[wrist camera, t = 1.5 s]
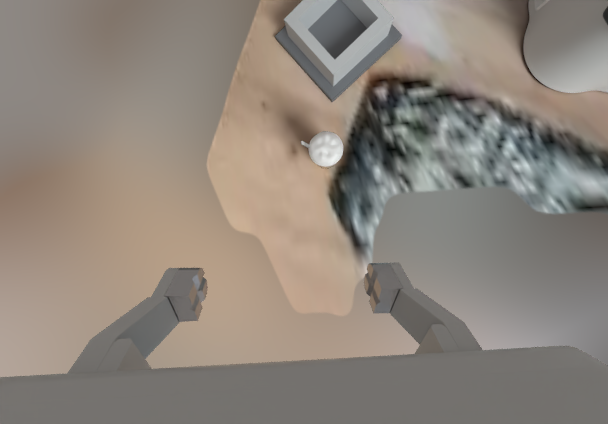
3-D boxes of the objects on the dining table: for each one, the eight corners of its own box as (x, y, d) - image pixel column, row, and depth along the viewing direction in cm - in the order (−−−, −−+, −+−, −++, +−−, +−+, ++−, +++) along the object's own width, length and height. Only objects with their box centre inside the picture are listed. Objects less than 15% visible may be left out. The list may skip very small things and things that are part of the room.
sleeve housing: (341, -27, 37) (342, -56, 33) (400, 38, 37) (409, 17, 32) (276, 39, 39) (269, 19, 34) (332, 102, 38) (332, 90, 34)
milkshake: (310, 142, 39) (304, 123, 29) (342, 147, 38) (347, 129, 28) (305, 169, 39) (297, 160, 29) (337, 175, 39) (340, 167, 29)
